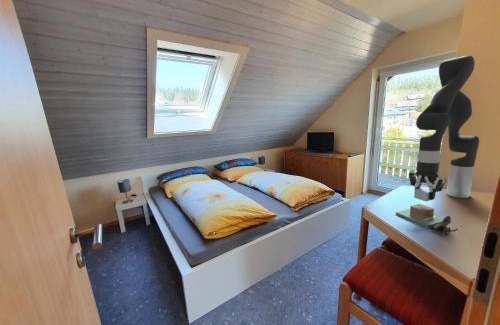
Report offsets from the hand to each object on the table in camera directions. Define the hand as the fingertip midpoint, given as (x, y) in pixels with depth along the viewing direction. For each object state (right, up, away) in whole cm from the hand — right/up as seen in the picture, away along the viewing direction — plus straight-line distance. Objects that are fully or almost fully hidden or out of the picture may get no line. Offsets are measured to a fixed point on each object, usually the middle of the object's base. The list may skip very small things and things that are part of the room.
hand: (424, 197), depth 96 cm
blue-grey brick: (0, -1, 0) cm, 1 cm away
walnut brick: (0, -9, +2) cm, 9 cm away
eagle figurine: (-1, -13, -10) cm, 16 cm away
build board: (+1, -10, +2) cm, 10 cm away
